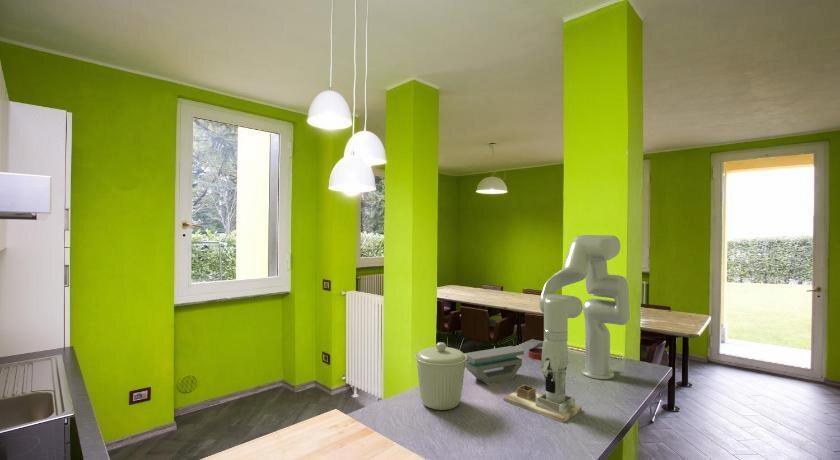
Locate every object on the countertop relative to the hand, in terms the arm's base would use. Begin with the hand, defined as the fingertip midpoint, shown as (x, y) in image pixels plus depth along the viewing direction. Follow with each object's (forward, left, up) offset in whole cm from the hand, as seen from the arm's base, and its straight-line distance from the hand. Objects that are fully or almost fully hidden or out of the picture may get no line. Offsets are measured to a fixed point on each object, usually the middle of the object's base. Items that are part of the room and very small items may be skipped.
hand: (555, 388), depth 133 cm
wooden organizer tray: (0, -5, -7) cm, 9 cm away
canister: (+25, -29, -7) cm, 39 cm away
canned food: (-48, -34, -7) cm, 59 cm away
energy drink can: (0, 0, -5) cm, 5 cm away
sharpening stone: (-8, -31, -7) cm, 33 cm away
